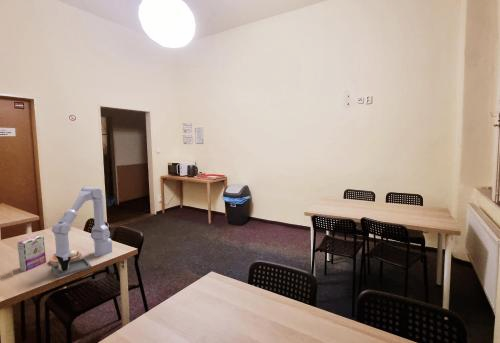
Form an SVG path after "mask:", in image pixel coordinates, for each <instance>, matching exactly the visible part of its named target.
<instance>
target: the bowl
mask: <svg viewBox="0 0 500 343" xmlns="http://www.w3.org/2000/svg"><path fill="white" fill-rule="evenodd" d="M76 251H77V256H76V257H73V258H71V259H70V261H69V262H71V261H75V260H78V259H82V252H81V251H80V250H76ZM49 264H50V265H51V266H55V265H58V264H59V261H58V259H57V257H56V256H54V254H53V255H52V256H51V257H50V258H49Z"/></svg>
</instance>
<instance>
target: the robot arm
mask: <svg viewBox="0 0 500 343" xmlns="http://www.w3.org/2000/svg"><path fill="white" fill-rule="evenodd" d="M90 200H91V201H92V202H93V204H92V205H93V220H94V226H92V228H91V233H90V238H91V239H92V240H93V244H94V252H92V254H93V255H94V256H95V257H96V258H97V257H100V256H101V257H102V256H104V255H108V254H111V253H113V242H112V241H113V240H112V239H111V238H110V236H111V232H110V230H109V227H108V226H107V225H106V223H105V206H104V205H105V204H104V196H103V190H102V189H101V188H100V187H98V186H96V187H93V186H92V187H91V186H82V188H81V189H80V190H79V192H78V197H77V198H76V200H75V201H74V203H73V204H72V206H71V208H70V209H68V210H66V211H64V213H63V215H62V217H60V219H59V220H58V222H56V223H54V225H52V229H51V232H52V233H53V234H54V240H55V253H54V254H53V255H54V256H56V257H57V259H58V261H59V263H60V265H61V268H62V271H66V270H67V269H68V264H69V261H70V259H71V257H68V255H69V253H70V251H71V250H70V242H69V239H70V238H69V232H70V231H71V229H72V224H73V223H74V221H75V219H76V218H77V216H78V211H79V210H80V209H81V208H82V207H83V206H84V204H85V203H86V202H88V201H90Z"/></svg>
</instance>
